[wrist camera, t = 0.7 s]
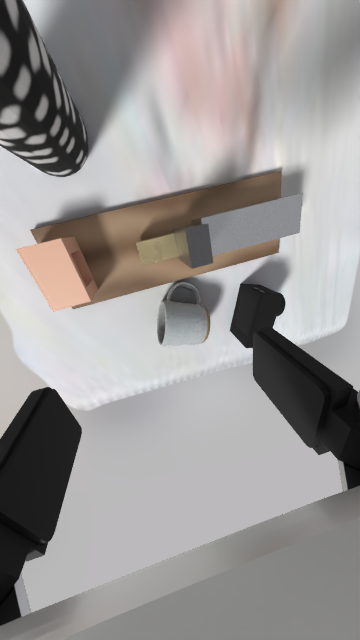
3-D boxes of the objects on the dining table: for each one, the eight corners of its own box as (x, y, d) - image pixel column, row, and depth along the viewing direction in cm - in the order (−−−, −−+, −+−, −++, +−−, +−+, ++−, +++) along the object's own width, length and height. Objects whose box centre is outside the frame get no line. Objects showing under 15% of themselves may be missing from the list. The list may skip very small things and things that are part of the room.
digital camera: (251, 330, 42) (271, 347, 35) (229, 330, 40) (246, 349, 34) (264, 284, 37) (290, 295, 31) (240, 283, 36) (261, 294, 30)
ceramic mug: (195, 332, 39) (207, 354, 32) (155, 332, 37) (160, 354, 30) (204, 282, 35) (221, 294, 28) (160, 278, 33) (167, 290, 26)
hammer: (134, 238, 27) (133, 242, 18) (272, 203, 29) (332, 192, 20) (143, 265, 29) (145, 281, 20) (272, 231, 31) (326, 232, 22)
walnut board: (33, 229, 26) (30, 229, 25) (276, 172, 29) (281, 170, 28) (74, 307, 31) (72, 309, 31) (274, 252, 35) (278, 252, 34)
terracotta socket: (38, 245, 26) (15, 249, 21) (74, 236, 26) (60, 238, 21) (66, 298, 30) (53, 311, 25) (98, 289, 30) (91, 301, 25)
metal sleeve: (191, 220, 28) (201, 218, 24) (277, 198, 30) (302, 193, 25) (196, 253, 31) (206, 257, 26) (277, 232, 32) (299, 232, 28)
